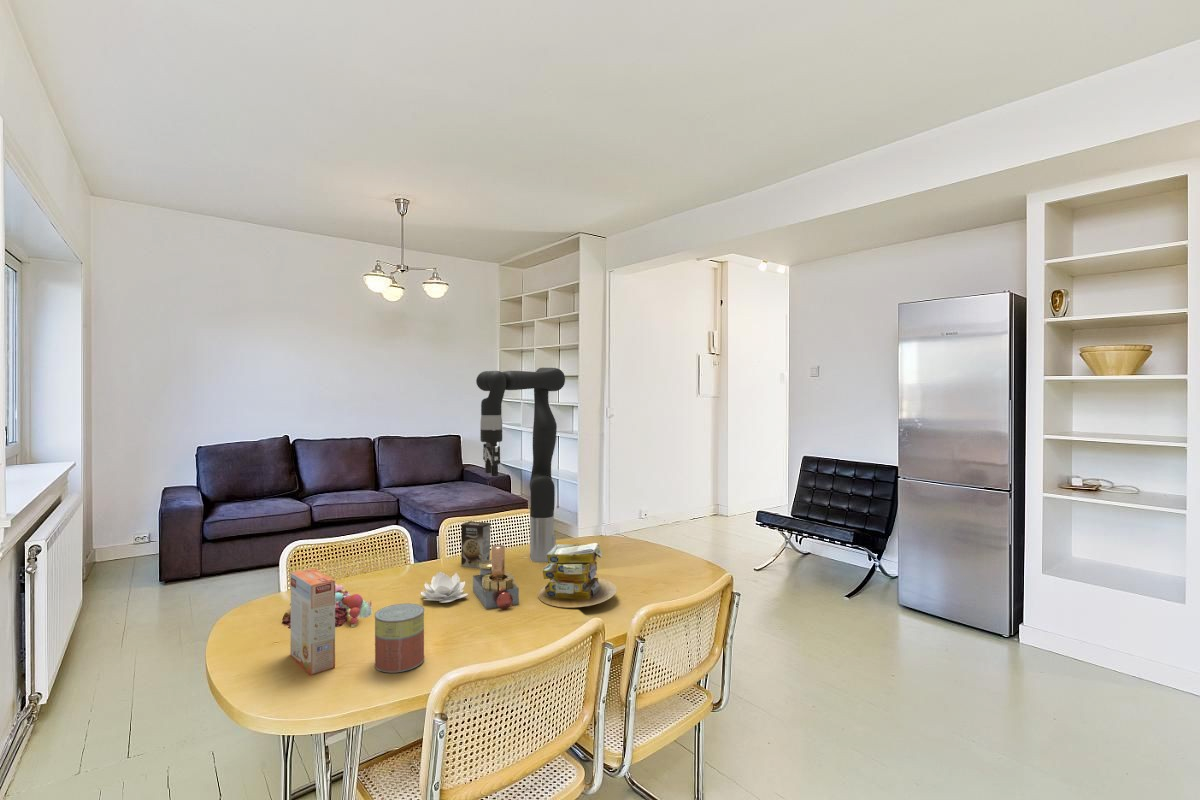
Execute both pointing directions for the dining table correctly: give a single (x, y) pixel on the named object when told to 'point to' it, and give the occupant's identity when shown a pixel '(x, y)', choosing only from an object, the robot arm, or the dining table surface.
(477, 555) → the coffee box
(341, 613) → the candy landscape model
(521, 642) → the dining table surface
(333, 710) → the dining table surface
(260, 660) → the dining table surface
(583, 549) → the stacked food boxes
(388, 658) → the canned food
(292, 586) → the cracker box
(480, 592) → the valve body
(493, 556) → the copper pipe
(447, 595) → the lotus flower
